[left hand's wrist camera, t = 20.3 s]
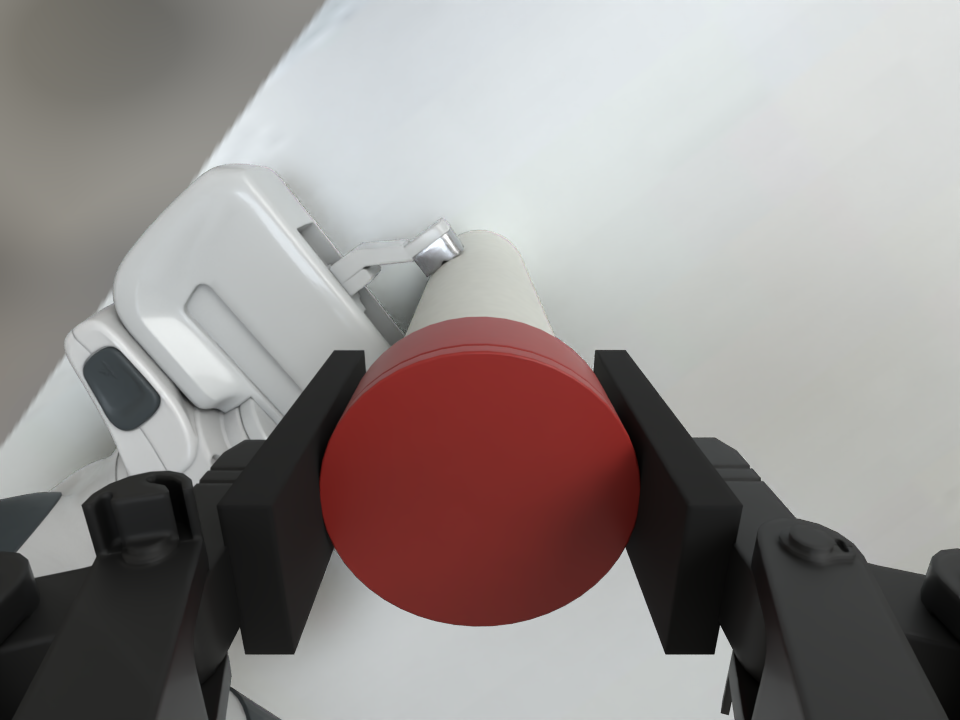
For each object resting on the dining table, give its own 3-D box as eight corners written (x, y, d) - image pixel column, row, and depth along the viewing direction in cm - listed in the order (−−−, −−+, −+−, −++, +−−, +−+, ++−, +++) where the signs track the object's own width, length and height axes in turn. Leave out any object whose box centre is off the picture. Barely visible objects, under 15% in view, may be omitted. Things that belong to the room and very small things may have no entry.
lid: (666, 451, 12) (705, 511, 10) (472, 593, 13) (471, 672, 11) (488, 254, 11) (491, 278, 8) (290, 437, 12) (251, 495, 10)
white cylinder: (432, 230, 28) (344, 364, 10) (525, 228, 28) (611, 360, 10) (436, 320, 30) (367, 578, 12) (524, 319, 30) (596, 575, 11)
